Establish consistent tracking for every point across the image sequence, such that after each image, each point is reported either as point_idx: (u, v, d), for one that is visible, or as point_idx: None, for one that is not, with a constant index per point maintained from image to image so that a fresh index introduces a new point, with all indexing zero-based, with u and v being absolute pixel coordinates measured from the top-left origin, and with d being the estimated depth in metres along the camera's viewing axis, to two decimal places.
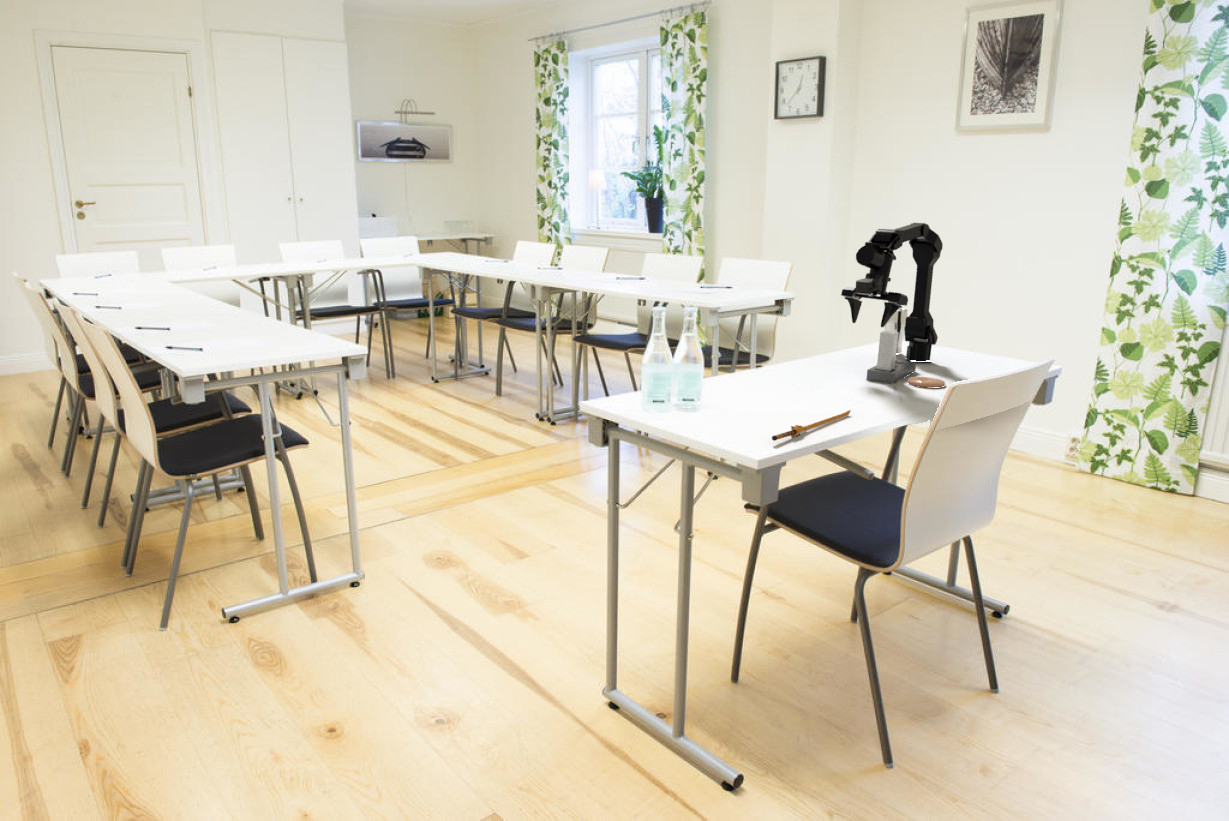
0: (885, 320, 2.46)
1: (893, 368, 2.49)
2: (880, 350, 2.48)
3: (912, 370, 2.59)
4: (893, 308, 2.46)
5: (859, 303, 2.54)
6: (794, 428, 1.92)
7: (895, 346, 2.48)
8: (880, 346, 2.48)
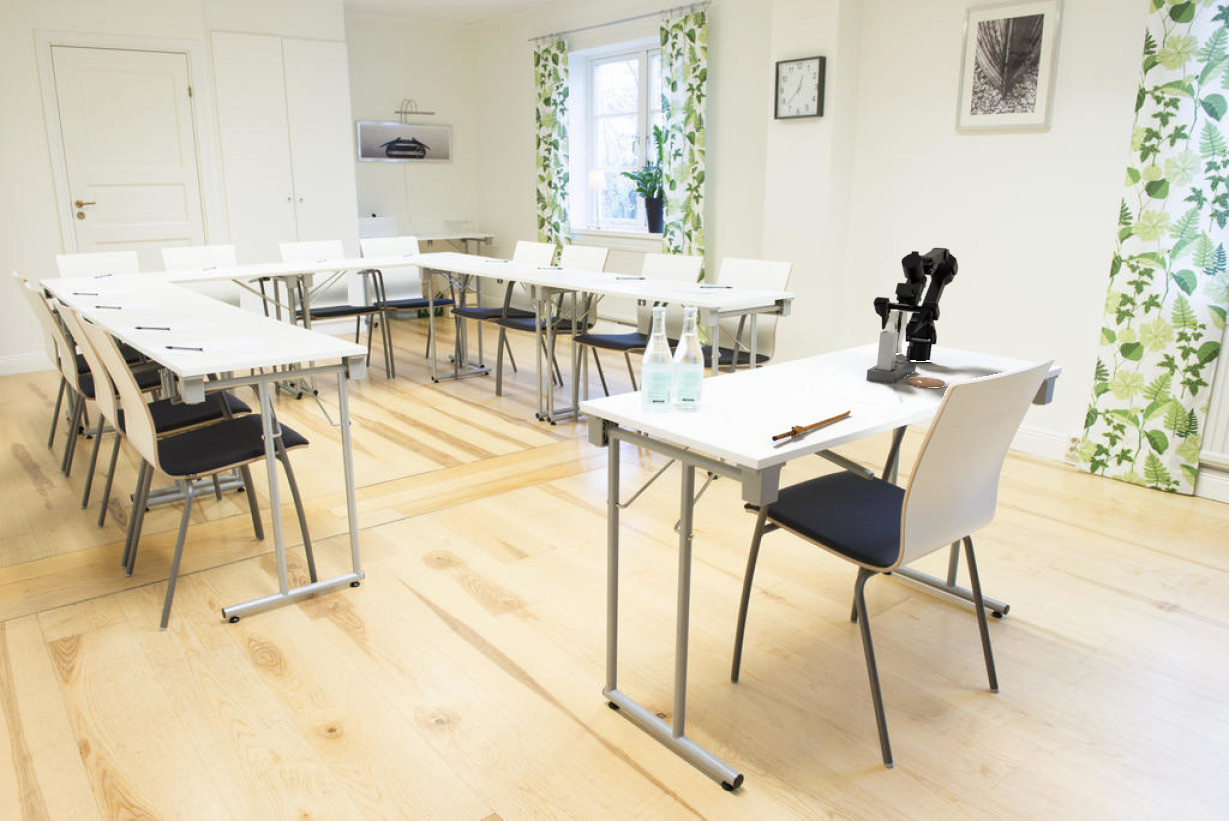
0: (918, 326, 2.52)
1: (893, 368, 2.49)
2: (880, 350, 2.48)
3: (912, 370, 2.59)
4: (925, 319, 2.54)
5: (888, 315, 2.60)
6: (794, 428, 1.92)
7: (895, 346, 2.48)
8: (880, 346, 2.48)
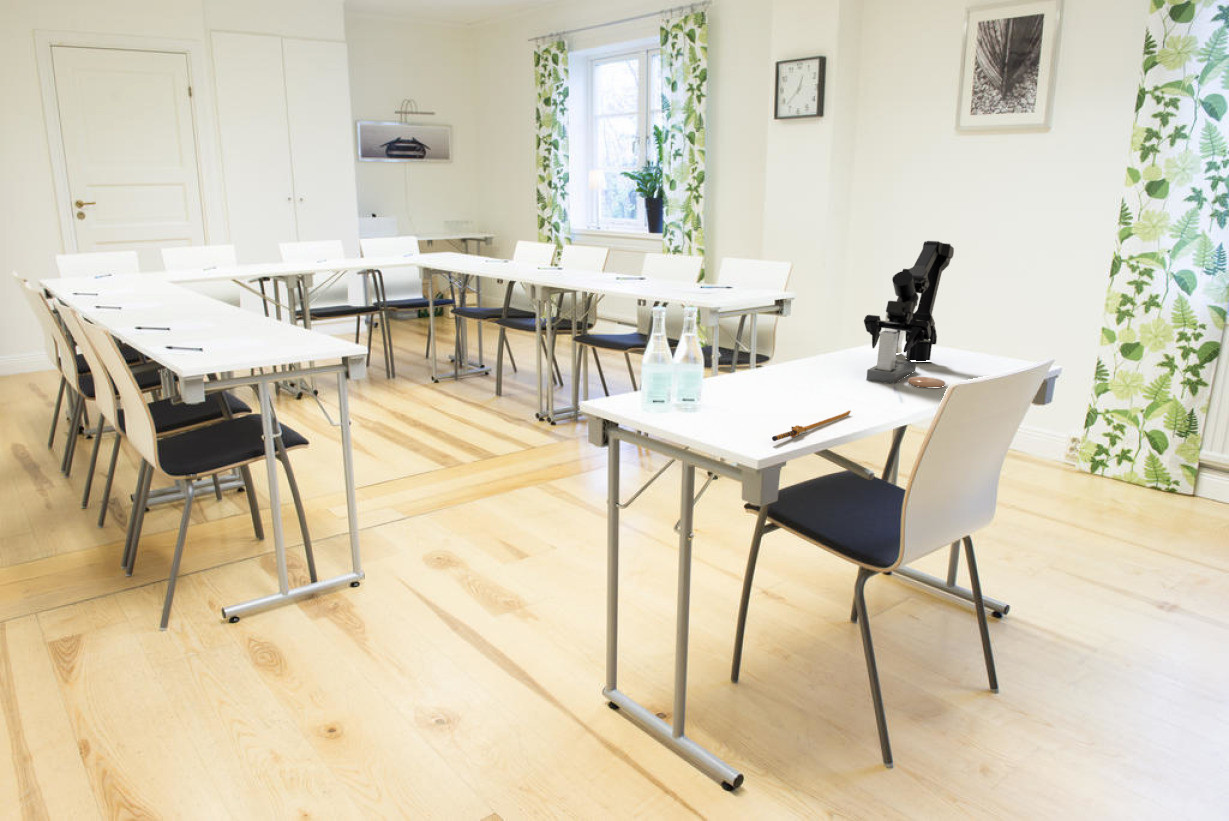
0: (908, 345, 2.47)
1: (893, 368, 2.49)
2: (880, 350, 2.48)
3: (912, 370, 2.59)
4: (916, 338, 2.49)
5: (878, 334, 2.56)
6: (794, 428, 1.92)
7: (895, 346, 2.48)
8: (880, 346, 2.48)
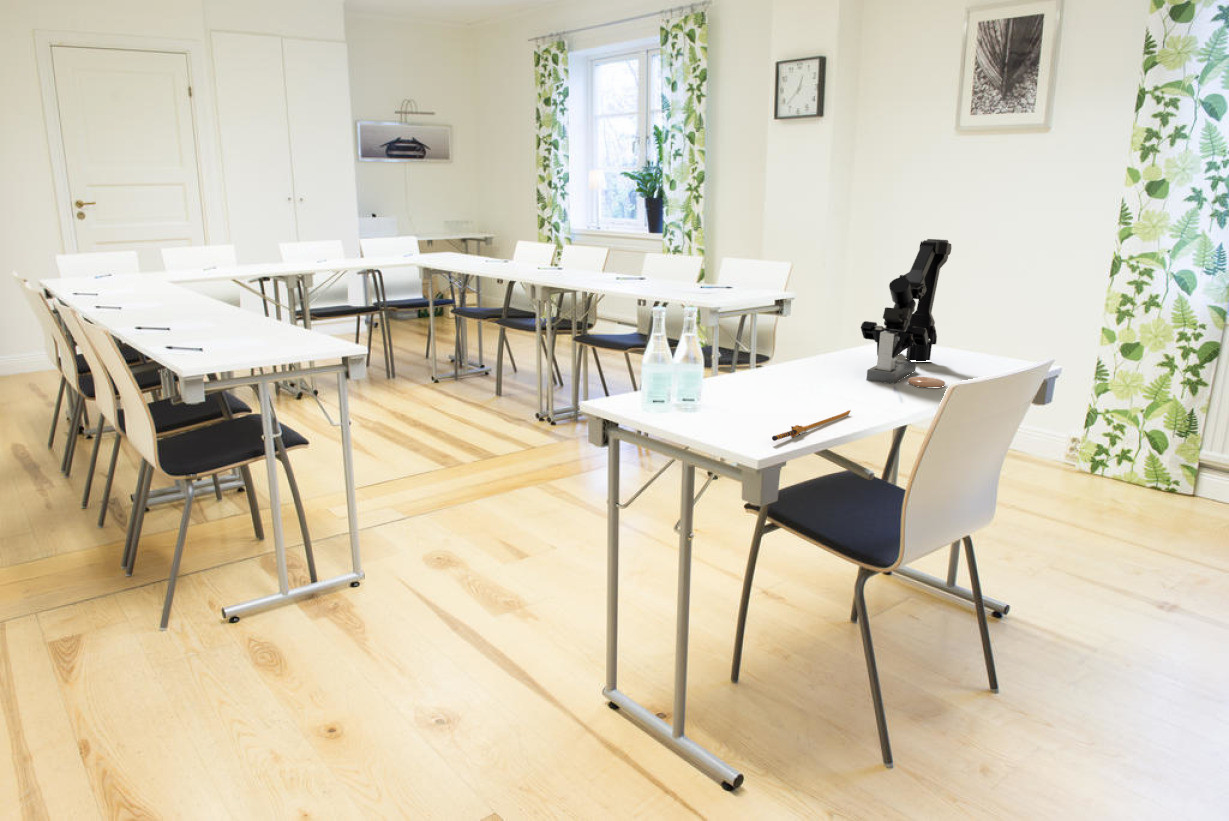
0: (897, 351, 2.47)
1: (893, 368, 2.49)
2: (880, 350, 2.48)
3: (912, 370, 2.59)
4: (905, 344, 2.49)
5: None
6: (794, 428, 1.92)
7: (895, 346, 2.48)
8: (880, 346, 2.48)
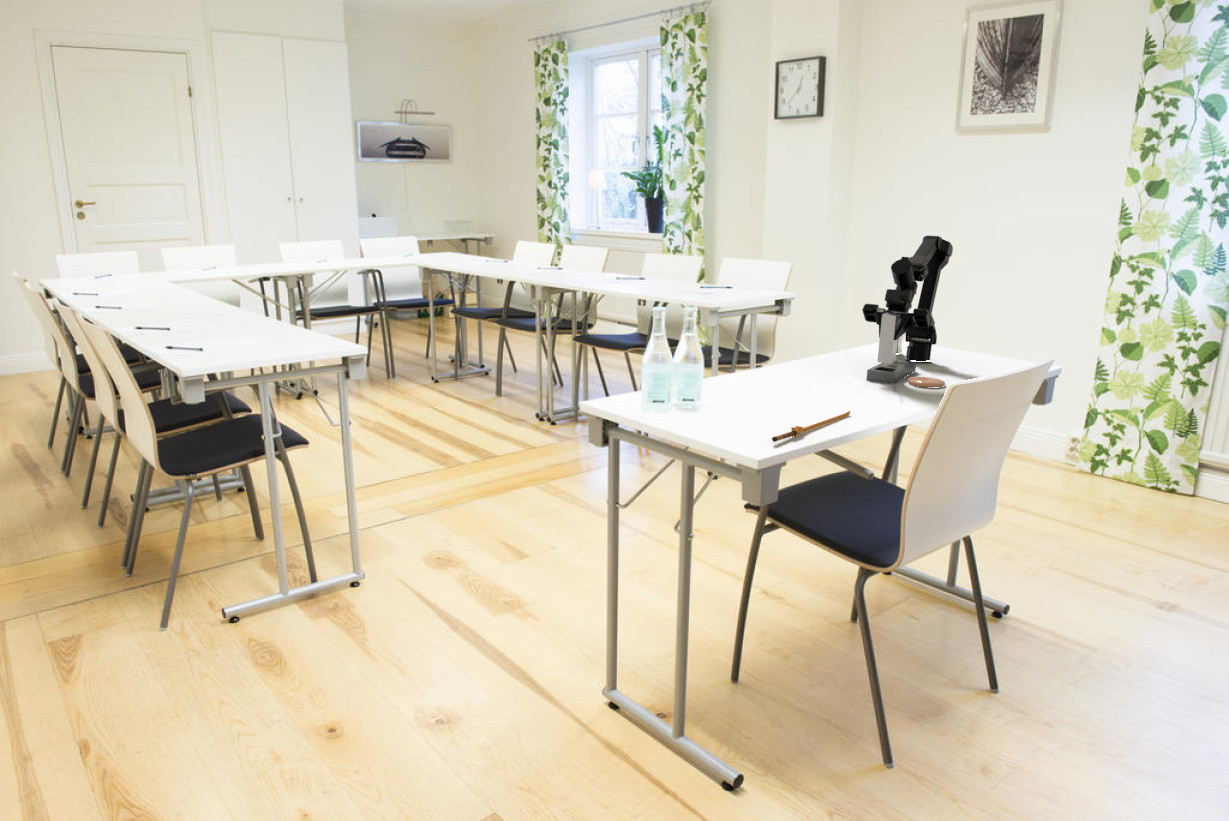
0: (899, 333, 2.46)
1: (894, 350, 2.48)
2: (882, 332, 2.47)
3: (912, 370, 2.59)
4: (907, 326, 2.48)
5: None
6: (794, 429, 1.92)
7: (897, 328, 2.46)
8: (882, 328, 2.46)
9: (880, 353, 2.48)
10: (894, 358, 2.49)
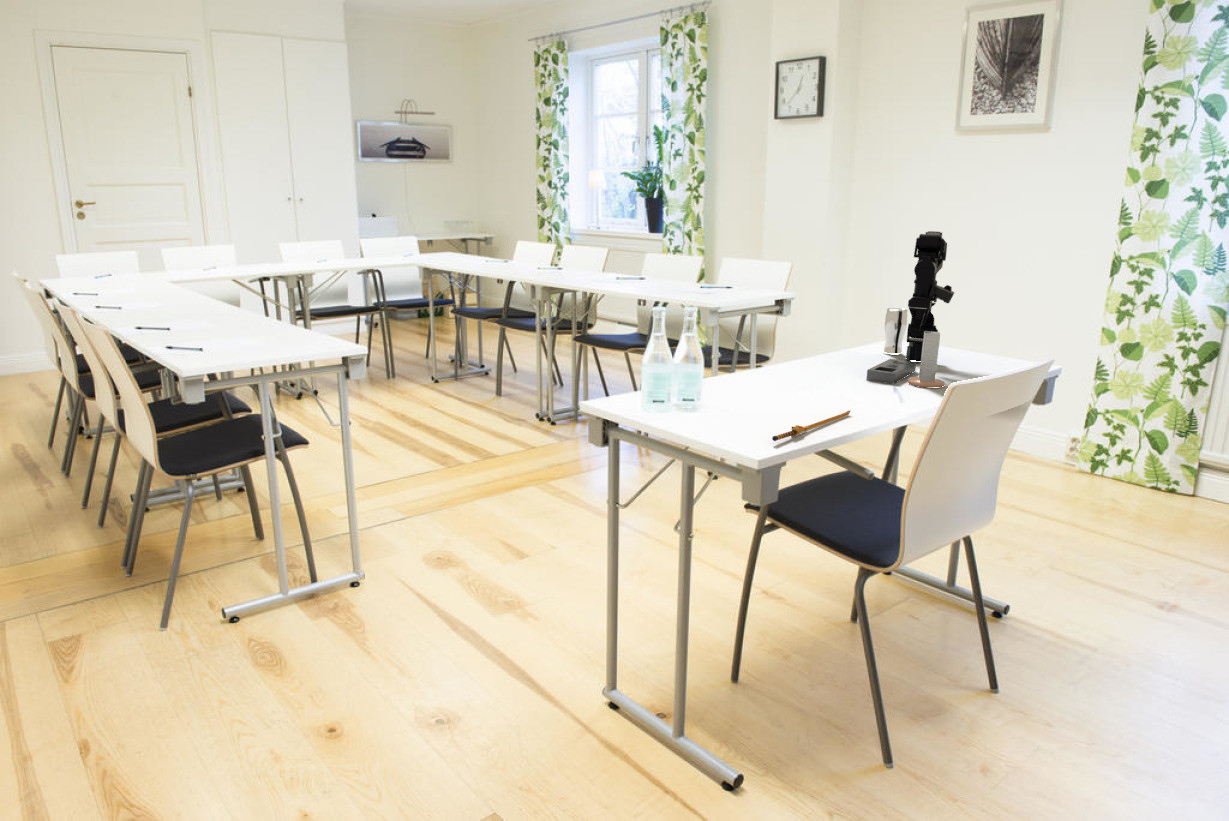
0: None
1: None
2: (925, 351, 2.42)
3: (912, 370, 2.59)
4: None
5: None
6: (794, 428, 1.92)
7: None
8: (925, 347, 2.42)
9: (923, 373, 2.44)
10: None
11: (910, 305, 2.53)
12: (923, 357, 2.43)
